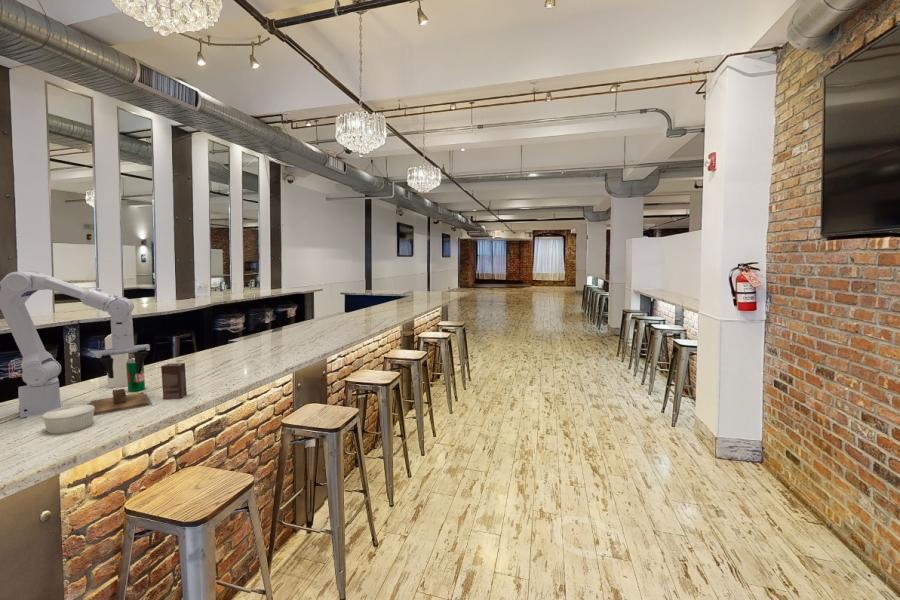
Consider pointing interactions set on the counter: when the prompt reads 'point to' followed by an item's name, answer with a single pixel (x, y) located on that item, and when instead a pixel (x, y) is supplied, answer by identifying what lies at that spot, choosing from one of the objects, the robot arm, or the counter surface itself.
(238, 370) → the counter surface
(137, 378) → the soda can
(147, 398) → the mat
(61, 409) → the ramekin
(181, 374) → the box
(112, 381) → the milk
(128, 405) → the lid
